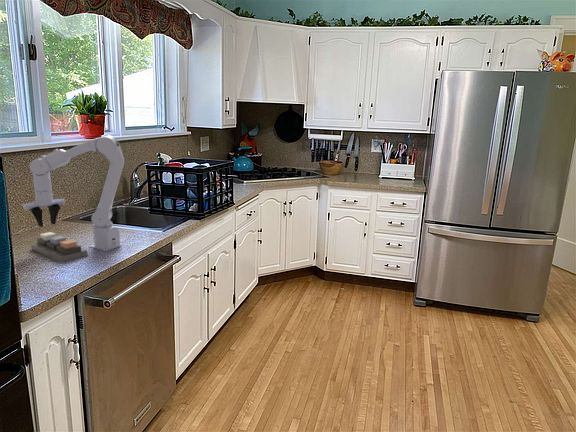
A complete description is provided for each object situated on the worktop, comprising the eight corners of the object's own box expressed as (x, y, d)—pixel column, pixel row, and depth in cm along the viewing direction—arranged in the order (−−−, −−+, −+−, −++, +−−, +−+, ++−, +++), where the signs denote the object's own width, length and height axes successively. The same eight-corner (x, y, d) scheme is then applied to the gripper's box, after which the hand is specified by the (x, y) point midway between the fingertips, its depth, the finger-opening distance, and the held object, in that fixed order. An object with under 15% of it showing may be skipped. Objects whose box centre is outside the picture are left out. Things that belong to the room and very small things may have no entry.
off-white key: (56, 238, 163) (55, 233, 163) (45, 241, 160) (45, 236, 160) (51, 236, 166) (50, 231, 165) (40, 239, 162) (40, 234, 162)
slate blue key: (66, 242, 159) (65, 237, 159) (55, 245, 156) (55, 239, 156) (61, 240, 161) (60, 235, 161) (50, 242, 158) (49, 237, 158)
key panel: (87, 255, 157) (86, 245, 156) (60, 262, 150) (59, 251, 149) (58, 243, 170) (57, 233, 169) (31, 249, 162) (30, 239, 161)
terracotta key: (76, 246, 155) (76, 241, 154) (65, 249, 152) (65, 244, 151) (71, 244, 157) (70, 239, 157) (60, 247, 154) (59, 241, 154)
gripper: (57, 186, 166) (60, 219, 170) (17, 191, 155) (21, 226, 158) (66, 188, 162) (69, 222, 166) (26, 194, 151) (30, 230, 154)
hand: (47, 225), depth 162 cm, fingers open, 4 cm apart
